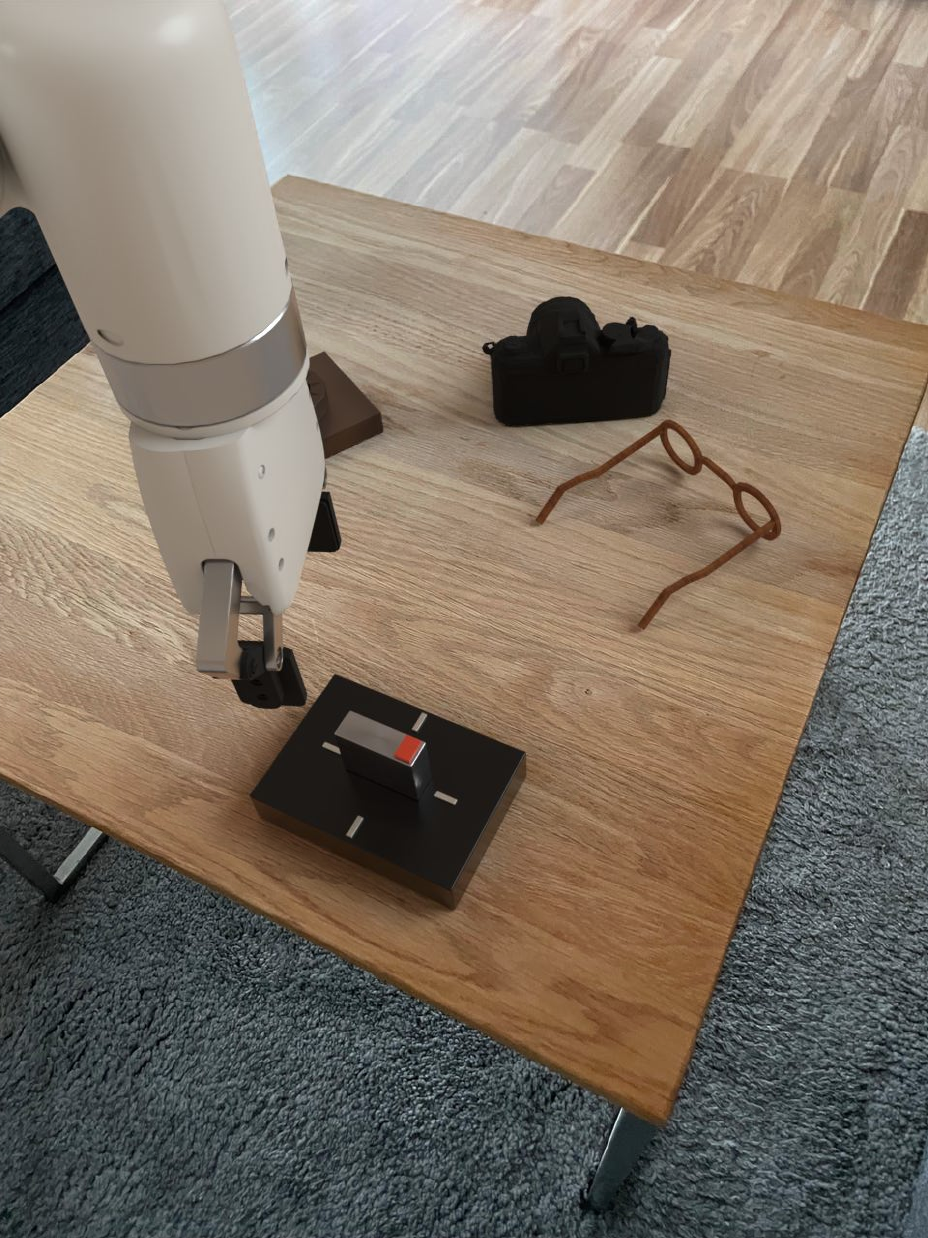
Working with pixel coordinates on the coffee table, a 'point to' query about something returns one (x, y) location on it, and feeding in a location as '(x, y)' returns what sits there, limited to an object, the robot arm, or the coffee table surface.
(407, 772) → the hob knob
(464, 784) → the black square plate
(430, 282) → the coffee table surface
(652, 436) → the glasses
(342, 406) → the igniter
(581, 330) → the film camera
